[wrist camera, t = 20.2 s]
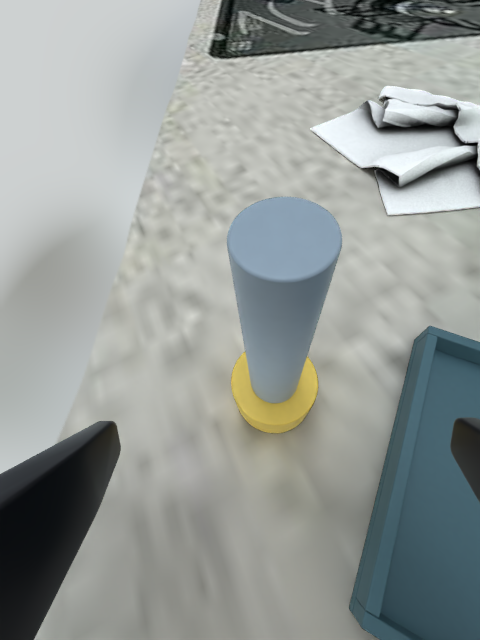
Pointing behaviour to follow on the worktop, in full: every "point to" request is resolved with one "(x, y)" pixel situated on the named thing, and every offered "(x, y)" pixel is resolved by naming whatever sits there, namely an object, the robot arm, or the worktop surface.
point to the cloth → (414, 149)
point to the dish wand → (280, 305)
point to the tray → (425, 506)
